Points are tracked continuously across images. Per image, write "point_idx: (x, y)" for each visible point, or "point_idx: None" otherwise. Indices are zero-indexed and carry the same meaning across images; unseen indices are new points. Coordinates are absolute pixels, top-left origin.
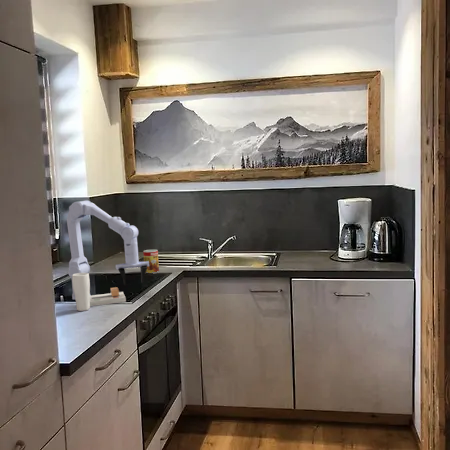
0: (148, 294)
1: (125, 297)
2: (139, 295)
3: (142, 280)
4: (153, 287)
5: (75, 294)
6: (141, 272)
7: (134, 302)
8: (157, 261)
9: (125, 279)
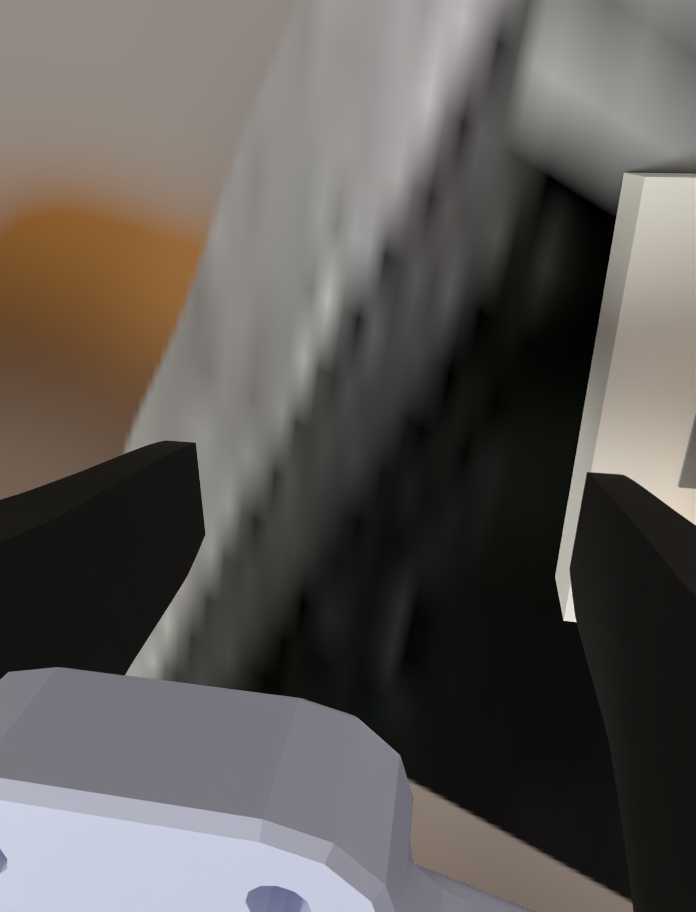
0: None
1: (647, 176)
2: (320, 490)
3: (152, 456)
4: None
5: None
6: (53, 650)
7: (487, 17)
8: None
9: (637, 530)
